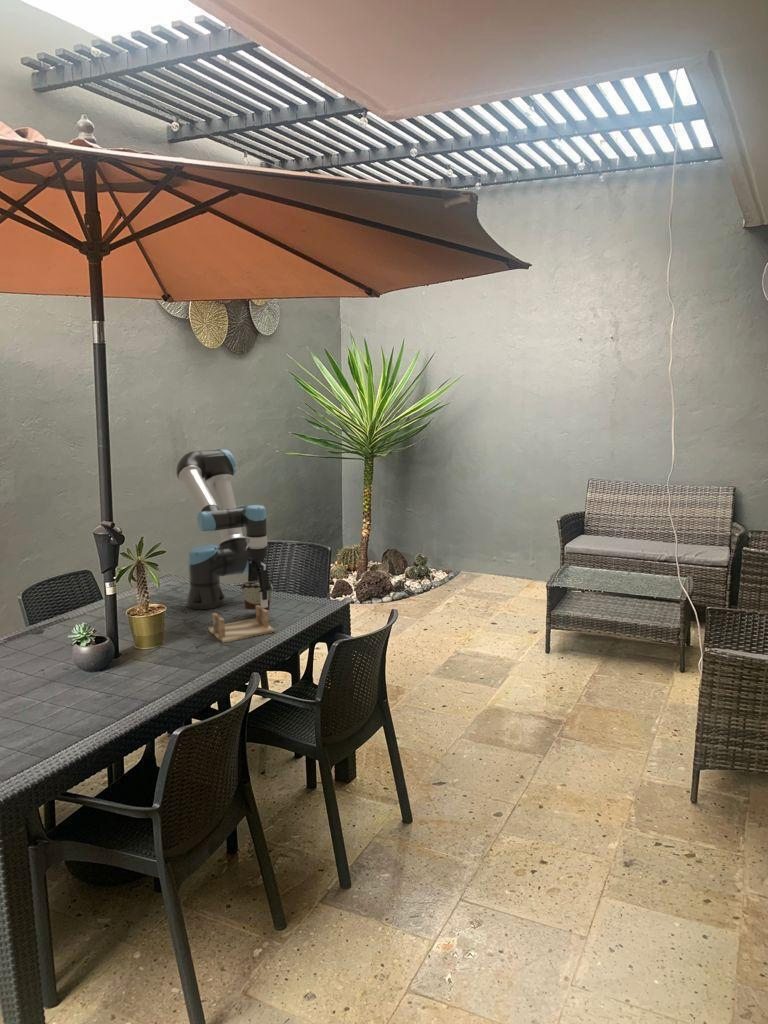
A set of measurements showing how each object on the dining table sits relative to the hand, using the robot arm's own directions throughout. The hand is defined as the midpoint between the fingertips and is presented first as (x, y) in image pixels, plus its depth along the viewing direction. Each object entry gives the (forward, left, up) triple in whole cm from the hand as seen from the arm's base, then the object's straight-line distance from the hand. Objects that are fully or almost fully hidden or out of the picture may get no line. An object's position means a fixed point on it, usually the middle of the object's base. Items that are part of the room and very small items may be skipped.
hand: (259, 604), depth 279 cm
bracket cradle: (+14, -13, -4) cm, 20 cm away
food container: (-1, 0, -2) cm, 2 cm away
